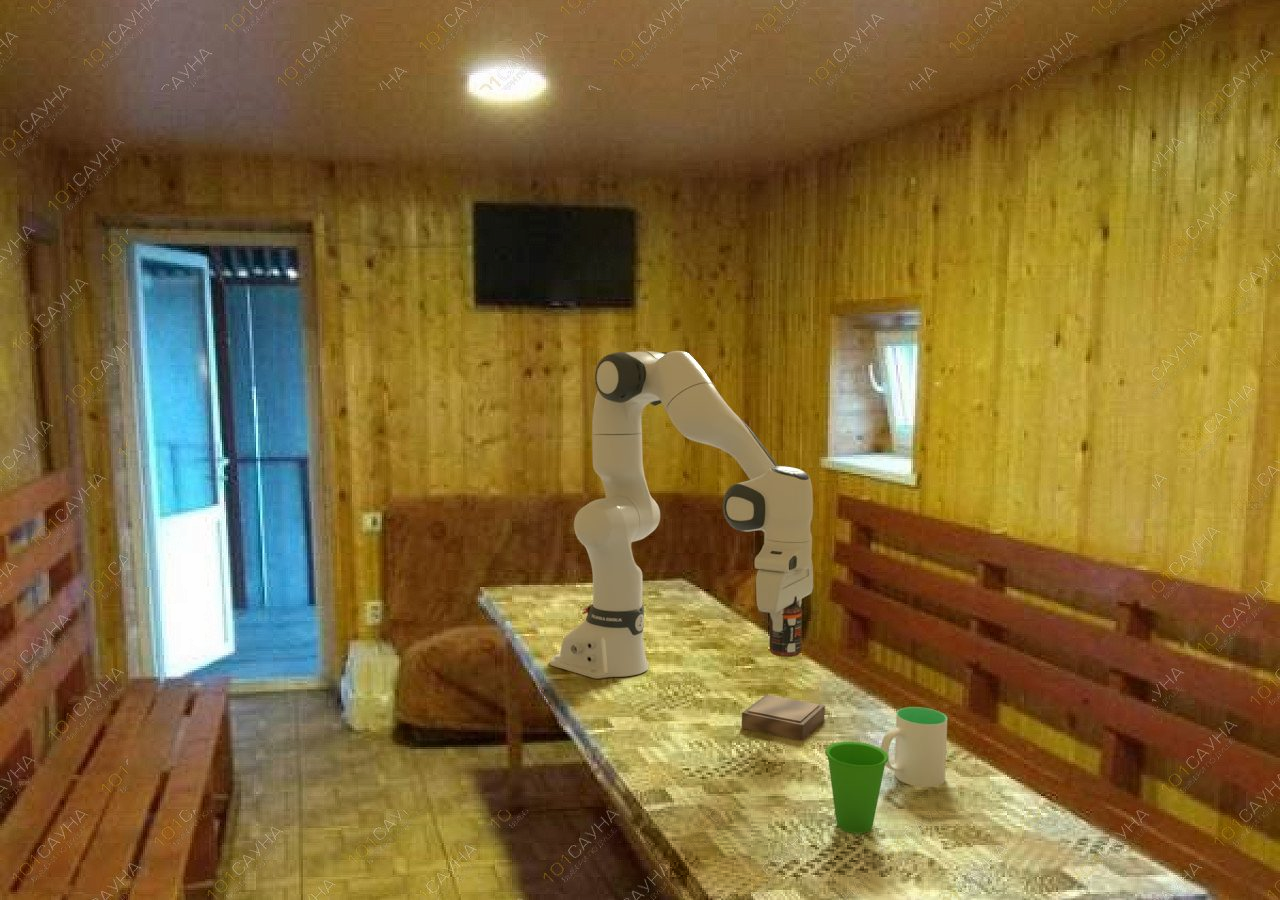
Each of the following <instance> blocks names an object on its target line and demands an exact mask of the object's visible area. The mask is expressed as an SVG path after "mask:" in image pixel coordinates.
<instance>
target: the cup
mask: <svg viewBox="0 0 1280 900" xmlns="http://www.w3.org/2000/svg"><path fill="white" fill-rule="evenodd" d="M824 753H825V755H826V757H827V760H828V767H829V777H830V781H831V789H832V791H831V792H832V797H833V807H834V814H835V822H836V823H837V825H838V827H839V828H840V829H841V830H843V831H844V832H846V833H847V832H848V833H851V834H865V833H868V832H870V831H871V830H872V828H873V826H874V822H875V816H876V811H877V806H878V803H879V796H880V792H881V786H882V782H883V777H884V773H885V767H886V766H885V763H886V762H887V761H888V758H889V754H888V755H887V753H886V752H885V751H884V750H882V749H881V747H879V746H876V745H873V744H870V743H866V742H861V741H840V742H839V741H838V742H835V743H832V744H829V745H828V746H827V747H826V749H825V752H824Z"/></svg>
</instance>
